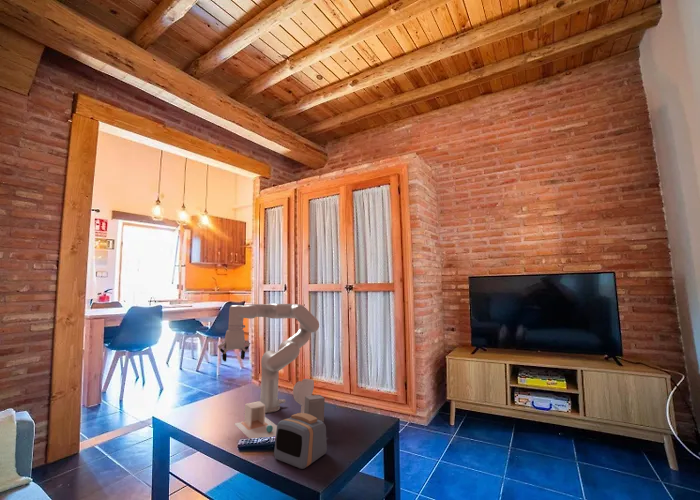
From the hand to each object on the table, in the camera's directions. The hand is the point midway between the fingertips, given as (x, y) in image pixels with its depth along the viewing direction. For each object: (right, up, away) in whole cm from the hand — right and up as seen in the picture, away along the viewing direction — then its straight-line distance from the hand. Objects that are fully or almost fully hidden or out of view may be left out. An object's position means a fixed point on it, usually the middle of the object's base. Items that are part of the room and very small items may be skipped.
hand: (233, 359), depth 177 cm
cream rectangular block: (+16, -26, -16) cm, 34 cm away
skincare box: (+46, -27, -21) cm, 57 cm away
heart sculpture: (+38, -29, -2) cm, 48 cm away
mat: (+20, -26, -21) cm, 39 cm away
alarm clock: (+43, -24, -45) cm, 67 cm away
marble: (+26, -24, -24) cm, 43 cm away
